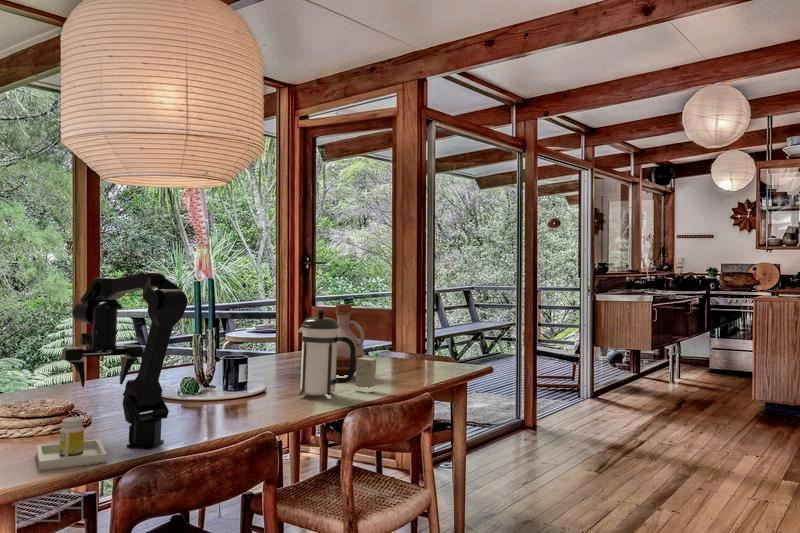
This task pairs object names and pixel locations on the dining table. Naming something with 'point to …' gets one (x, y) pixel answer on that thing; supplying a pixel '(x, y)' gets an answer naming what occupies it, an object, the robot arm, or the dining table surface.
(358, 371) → the skincare box
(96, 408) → the dining table surface
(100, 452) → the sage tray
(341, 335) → the jug
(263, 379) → the dining table surface
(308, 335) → the coffee press
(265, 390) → the dining table surface
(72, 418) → the supplement bottle
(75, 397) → the dining table surface
